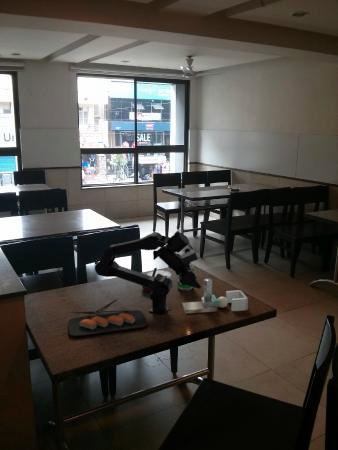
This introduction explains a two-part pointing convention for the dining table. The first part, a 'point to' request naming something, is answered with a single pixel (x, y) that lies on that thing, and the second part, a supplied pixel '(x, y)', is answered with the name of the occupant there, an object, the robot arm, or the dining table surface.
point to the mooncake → (161, 273)
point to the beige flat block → (197, 307)
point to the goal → (237, 300)
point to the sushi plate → (106, 322)
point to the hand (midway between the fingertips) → (198, 283)
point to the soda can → (185, 287)
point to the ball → (222, 302)
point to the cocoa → (146, 287)
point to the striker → (208, 294)
